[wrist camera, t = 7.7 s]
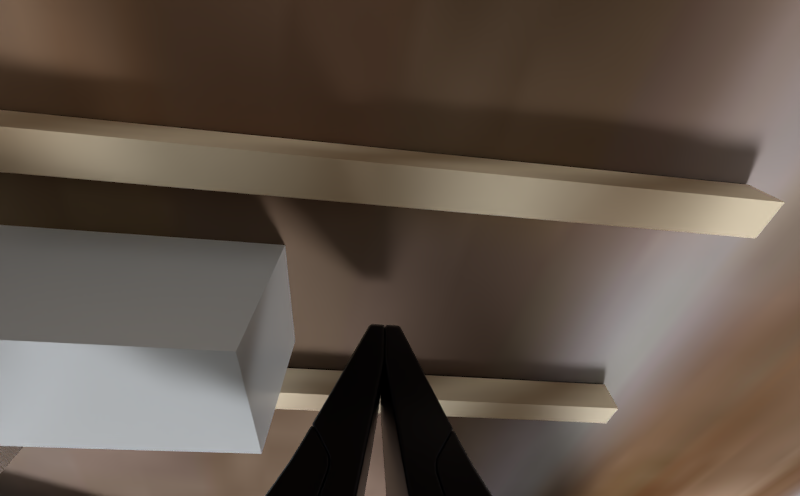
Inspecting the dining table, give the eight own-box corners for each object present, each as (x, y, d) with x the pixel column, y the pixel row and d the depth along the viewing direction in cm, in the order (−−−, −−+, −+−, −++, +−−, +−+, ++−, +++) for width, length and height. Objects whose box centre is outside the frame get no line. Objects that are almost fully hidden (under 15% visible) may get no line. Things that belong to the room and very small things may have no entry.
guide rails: (748, 184, 9) (785, 202, 8) (593, 399, 14) (606, 423, 13) (-59, 103, 8) (-115, 115, 7) (103, 375, 13) (83, 400, 12)
